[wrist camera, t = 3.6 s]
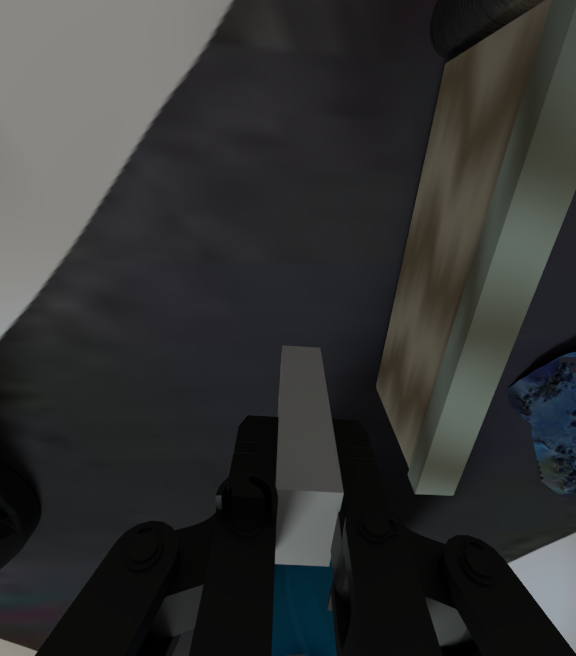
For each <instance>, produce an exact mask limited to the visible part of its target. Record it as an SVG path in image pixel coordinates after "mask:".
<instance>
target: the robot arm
mask: <svg viewBox="0 0 576 656" xmlns="http://www.w3.org/2000/svg"><path fill="white" fill-rule="evenodd" d="M39 518H40V510H39V505H38V502H37V500H36V497H35V496H34V494H33V492H32V491H31V489H30V488H29V487H28V485H27V484H26V483H25V482H24V481H23V480H22V479H21V478H20V477H19V476H18V475H17V474H16V473H14V472H13V471H12V470H11V469H9V468H8V467H7V466H5V465H4V464H2V463H1V462H0V569H1V568H3V567H4V566H5V565H6V564H7V563H8V562H9V561H10V560H12V559H13V558H14V557H15V556H16V555H17V554H18V553H19V552H20V550H21V549H22V548H23V547H24V545H25V544H26V542H27V541H28V539H29V538H30V536H31V535H32V533H33V532H34V531H35V529H36V527H37V525H38V523H39ZM330 559H331V560H332V569H333V579H332V584H331V589H330V593H329V598H328V607H327V611H333V622H334V633H335V643H336V654H337V656H576V653H575V652H574V651H573V649H572V648H571V647H570V646H569V644H568V643H567V642H566V640H565V639H564V638H563V636H562V635H561V634H560V632H559V631H558V630H557V628H556V627H555V626H554V624H553V623H552V622H551V621H550V619H549V618H548V617H547V615H546V614H545V613H544V611H543V610H542V609H541V607H540V606H539V605H538V604H537V602H536V601H535V600H534V598H533V597H532V595H531V594H530V593H529V592H528V590H527V589H526V588H525V586H524V585H523V584H522V582H521V581H520V580H519V578H518V577H517V576H516V574H515V573H514V572H513V571H512V569H511V568H510V567H509V565H508V564H507V563H506V561H505V560H504V559H503V558H502V557H501V556H500V555H499V554H498V553H497V552H496V550H495V549H494V548H492V547H491V546H489V545H488V544H486V543H485V542H483V541H482V540H480V539H477V538H474V537H471V536H469V535H456V536H454V537H452V538H450V539H448V541H447V543H446V544H443V543H440V542H438V541H435V540H432V539H429V538H427V537H424V536H421V535H419V534H417V533H415V532H412V531H411V530H409V529H408V528H406V527H405V526H403V525H402V524H401V523H400V521H399V519H398V518H397V517H396V516H395V515H394V514H393V513H392V512H391V511H390V508H389V506H388V504H387V501H386V497H385V494H384V490H383V486H382V483H381V479H380V476H379V472H378V469H377V465H376V462H375V460H374V455H373V451H372V449H371V444H370V441H369V437H368V434H367V432H366V431H365V429H364V428H363V427H362V426H361V424H360V423H359V422H358V421H355V420H337V419H332V417H331V411H330V405H329V399H328V393H327V387H326V380H325V374H324V368H323V362H322V356H321V349H320V348H313V347H297V346H282V358H281V373H280V388H279V403H278V417H267V416H249V415H248V416H247V417H246V418H245V419H244V421H243V422H242V423H241V424H240V426H239V429H238V434H237V439H236V444H235V449H234V454H233V459H232V464H231V469H230V474H229V477H228V478H227V479H226V480H225V481H224V482H223V483H222V484H221V485H220V487H219V489H218V491H217V493H216V513H215V514H214V515H213V516H212V517H210V518H209V519H207V520H205V521H204V522H201V523H199V524H196V525H193V526H190V527H186V528H182V529H179V530H175V531H174V530H173V528H172V527H171V526H169V525H167V524H166V523H164V522H158V521H149V522H145V523H141V524H138V525H136V526H135V527H133V528H131V529H130V530H128V531H126V532H125V533H124V534H123V535H122V536H121V537H120V538H119V539H118V541H117V542H116V543H115V544H114V545H113V547H112V548H111V550H110V551H109V553H108V554H107V555H106V557H105V558H104V560H103V561H102V562H101V564H100V565H99V567H98V568H97V569H96V571H95V572H94V574H93V575H92V576H91V578H90V579H89V581H88V582H87V583H86V585H85V586H84V588H83V589H82V590H81V592H80V593H79V595H78V596H77V597H76V599H75V600H74V602H73V603H72V604H71V606H70V607H69V609H68V610H67V611H66V613H65V614H64V616H63V617H62V618H61V620H60V621H59V623H58V624H57V625H56V627H55V628H54V630H53V631H52V632H51V634H50V635H49V637H48V638H47V639H46V641H45V642H44V644H43V645H42V646H41V648H40V649H39V651H38V652H37V653H36V655H35V656H172V654H173V652H174V650H175V648H176V645H177V643H178V641H179V638H180V636H181V634H182V633H184V632H187V631H189V630H192V629H194V634H193V639H192V644H191V649H190V653H189V656H272V629H273V602H274V574H275V564H285V565H307V566H328V567H329V564H330Z"/></svg>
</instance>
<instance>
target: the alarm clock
mask: <svg viewBox="0 0 576 656" xmlns="http://www.w3.org/2000/svg"><path fill="white" fill-rule="evenodd" d="M332 579H333V569H332V560H331V559H330V564H329V567H328V566H307V565H285V564H275V574H274V602H273V629H272V656H337V654H336V643H335V633H334V622H333V611H327V607H328V598H329V593H330V589H331V584H332Z"/></svg>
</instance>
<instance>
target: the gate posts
mask: <svg viewBox="0 0 576 656" xmlns="http://www.w3.org/2000/svg"><path fill="white" fill-rule="evenodd" d="M543 1H545V0H440V1H439V3H438V4H437V6H436V8H435V10H434V12H433V15H432V18H431V23H430V38H431V42H432V45H433V47H434V49H435V51H436V52H437V53H438V54H439V55H440V56H441V57H443V58H445V59H448V60H452V59H454V58H455V57H457V56H458V55H460V54H461V53H463V52H465V51H466V50H468V49H469V48H471V47H472V46H474V45H476V44H477V43H479V42H480V41H482V40H484V39H485V38H487V37H488V36H490V35H491V34H493V33H495V32H496V31H498V30H499V29H501V28H502V27H504V26H506V25H507V24H509V23H510V22H512V21H513V20H515V19H517V18H518V17H520V16H521V15H523V14H524V13H526V12H528V11H529V10H531V9H532V8H534V7H535V6H537V5H539V4H540V3H542V2H543Z"/></svg>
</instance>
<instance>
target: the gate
mask: <svg viewBox="0 0 576 656" xmlns="http://www.w3.org/2000/svg"><path fill="white" fill-rule="evenodd" d="M575 190H576V0H545V1H543V2H542V3H540V4H539V5H537V6H535V7H534V8H532V9H531V10H529V11H528V12H526V13H524V14H523V15H521V16H520V17H518V18H517V19H515V20H513V21H512V22H510V23H509V24H507V25H506V26H504V27H502V28H501V29H499V30H498V31H496V32H495V33H493V34H491V35H490V36H488V37H487V38H485V39H484V40H482V41H480V42H479V43H477V44H476V45H474V46H472V47H471V48H469V49H468V50H466V51H465V52H463V53H461V54H460V55H458V56H457V57H455V58H454V59H452V60H450V61H449V62H447V63H446V64H445V67H444V72H443V77H442V81H441V86H440V91H439V95H438V100H437V105H436V109H435V114H434V119H433V123H432V128H431V133H430V137H429V142H428V146H427V151H426V156H425V160H424V165H423V170H422V174H421V179H420V184H419V188H418V193H417V198H416V202H415V207H414V212H413V216H412V221H411V225H410V230H409V235H408V239H407V244H406V249H405V253H404V258H403V263H402V267H401V272H400V277H399V281H398V286H397V291H396V295H395V300H394V305H393V309H392V314H391V318H390V323H389V328H388V332H387V337H386V342H385V346H384V351H383V356H382V360H381V365H380V370H379V374H378V379H377V384H376V389H377V391H378V394H379V396H380V398H381V401H382V403H383V406H384V408H385V411H386V413H387V416H388V418H389V420H390V423H391V425H392V428H393V430H394V433H395V435H396V437H397V440H398V442H399V445H400V447H401V450H402V452H403V454H404V457H405V459H406V462H407V464H408V467H409V472H408V477H409V480H410V483H411V485H412V488H413V490H414V493H415V494H424V495H449V496H453V495H454V493H455V490H456V488H457V485H458V483H459V480H460V478H461V475H462V473H463V470H464V468H465V465H466V463H467V460H468V458H469V455H470V453H471V450H472V448H473V445H474V443H475V440H476V438H477V435H478V433H479V430H480V428H481V425H482V423H483V420H484V418H485V415H486V413H487V410H488V408H489V405H490V403H491V400H492V398H493V395H494V393H495V390H496V388H497V385H498V383H499V380H500V378H501V375H502V373H503V370H504V368H505V365H506V363H507V360H508V358H509V355H510V353H511V350H512V348H513V345H514V343H515V340H516V338H517V335H518V333H519V330H520V328H521V325H522V323H523V320H524V318H525V315H526V313H527V310H528V308H529V305H530V303H531V300H532V298H533V295H534V293H535V290H536V288H537V285H538V283H539V280H540V278H541V275H542V273H543V270H544V268H545V265H546V263H547V260H548V258H549V255H550V253H551V250H552V248H553V245H554V243H555V240H556V238H557V235H558V233H559V230H560V228H561V225H562V223H563V220H564V218H565V215H566V213H567V210H568V208H569V205H570V203H571V200H572V198H573V195H574V193H575Z"/></svg>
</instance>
